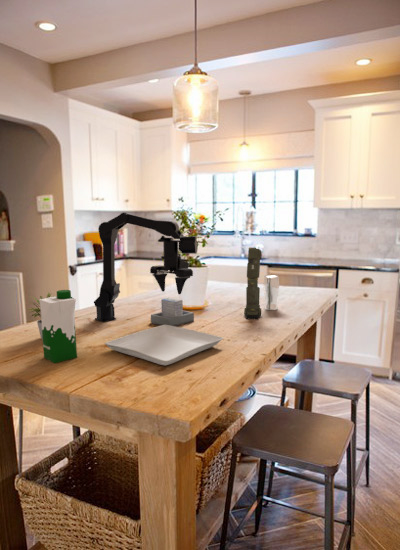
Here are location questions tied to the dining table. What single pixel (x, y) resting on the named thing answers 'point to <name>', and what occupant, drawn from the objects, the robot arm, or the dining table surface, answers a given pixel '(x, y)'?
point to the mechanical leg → (253, 285)
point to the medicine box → (171, 307)
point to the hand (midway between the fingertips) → (171, 292)
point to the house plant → (39, 314)
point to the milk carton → (58, 327)
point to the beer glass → (271, 291)
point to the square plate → (164, 343)
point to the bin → (172, 319)
